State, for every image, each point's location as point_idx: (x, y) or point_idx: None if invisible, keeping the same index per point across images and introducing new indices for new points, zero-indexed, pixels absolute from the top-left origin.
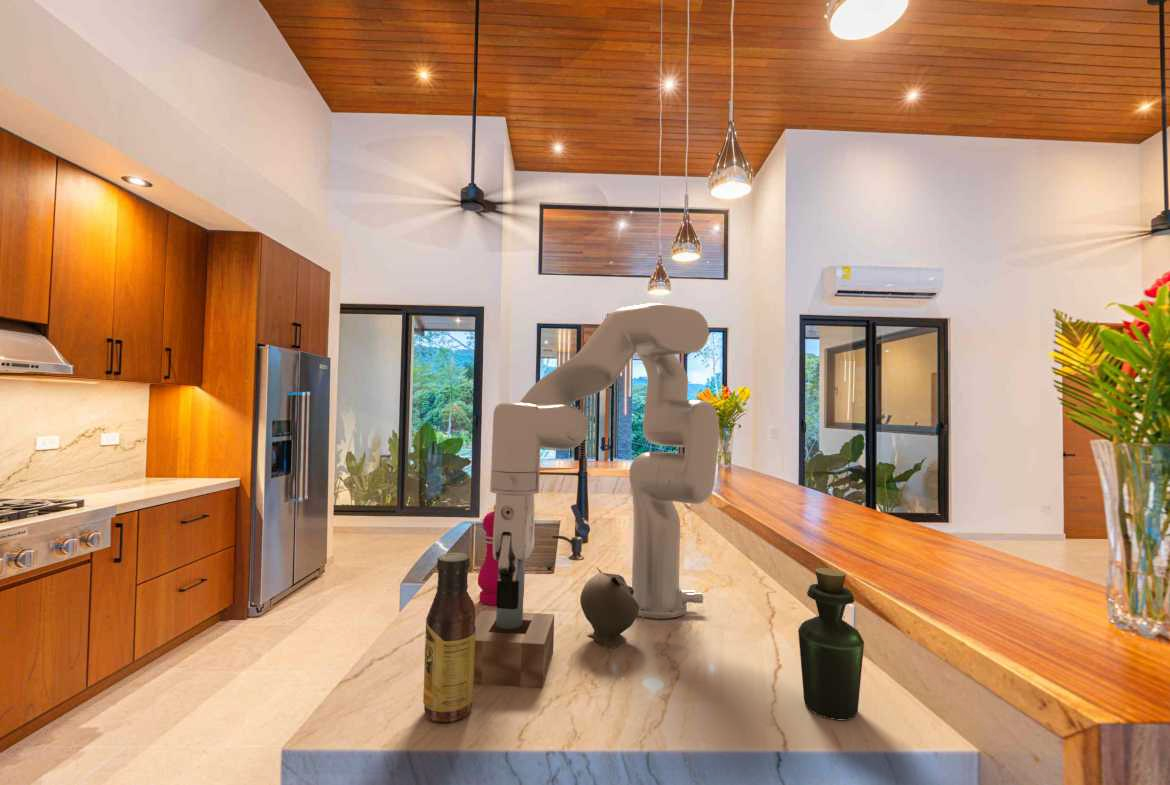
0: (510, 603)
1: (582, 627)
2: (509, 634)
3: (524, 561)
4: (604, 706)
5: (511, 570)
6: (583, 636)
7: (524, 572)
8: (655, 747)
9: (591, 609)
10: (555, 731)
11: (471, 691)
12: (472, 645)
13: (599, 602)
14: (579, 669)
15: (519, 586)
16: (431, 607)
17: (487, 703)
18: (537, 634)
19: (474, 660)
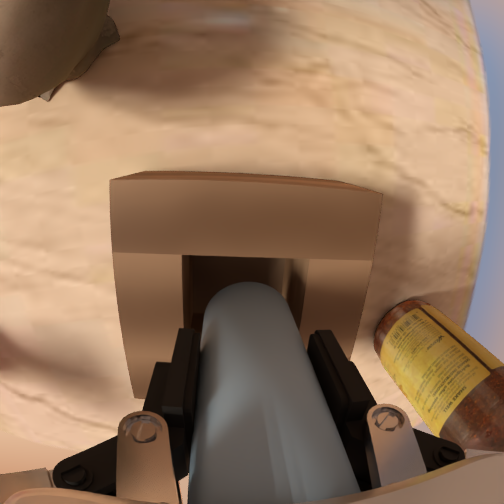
0: (351, 361)
1: (8, 124)
2: (313, 305)
3: (288, 481)
4: (396, 65)
5: (457, 453)
6: (51, 109)
7: (165, 406)
8: (473, 35)
9: (71, 52)
10: (460, 160)
11: (437, 312)
12: (489, 354)
13: (77, 14)
14: (242, 96)
15: (309, 381)
16: None
17: (387, 279)
18: (312, 219)
19: (451, 338)
